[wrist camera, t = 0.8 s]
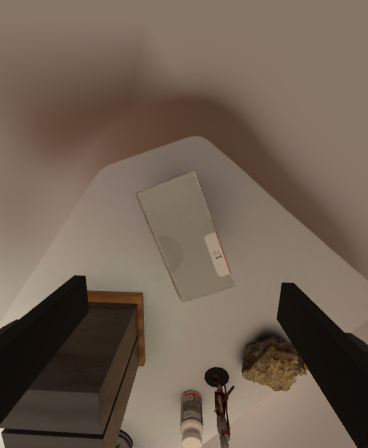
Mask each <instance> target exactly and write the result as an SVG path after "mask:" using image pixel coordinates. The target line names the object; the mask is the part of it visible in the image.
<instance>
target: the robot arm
mask: <svg viewBox="0 0 368 448" xmlns="http://www.w3.org/2000/svg"><path fill="white" fill-rule="evenodd" d="M88 312H89V305H88V295H87V285H86V276H77V275H74V276H73V277H72V278H71V279H69V280H68V281H67V282H66V283H64V284H63V285H62V286H61V287H59V288H58V289H57V290H56V291H54V292H53V293H52V294H51V295H49V296H48V297H47V298H46V299H44V300H43V301H42V302H41V303H39V304H38V305H37V306H36V307H34V308H33V309H32V310H31V311H29V312H28V313H27V314H26V315H24V316H23V317H22V318H21V319H19V320H15V321H13V322H11V323H9V324H7V325H6V326H4V327H2V328H1V329H0V424H1V423H2V422H3V420H4V419H5V418H6V417H7V415H8V414H9V413H10V412H11V410H12V409H13V408H14V406H15V405H16V404H17V403H18V401H19V400H20V399H21V398H22V396H23V395H24V394H25V392H26V391H27V390H28V389H29V387H30V386H31V385H32V384H33V382H34V381H35V380H36V378H37V377H38V376H39V375H40V373H41V372H42V371H43V370H44V368H45V367H46V366H47V364H48V363H49V362H50V361H51V359H52V358H53V357H54V356H55V354H56V353H57V352H58V350H59V349H60V348H61V347H62V345H63V344H64V343H65V342H66V340H67V339H68V338H69V336H70V335H71V334H72V333H73V331H74V330H75V329H76V328H77V326H78V325H79V324H80V322H81V321H82V320H83V319H84V317H85V316H86V315H87V314H88ZM277 320H278V322H279V323H280V325H281V327H282V328H283V330H284V331H285V333H286V335H287V336H288V338H289V339H290V341H291V342H292V344H293V346H294V347H295V349H296V350H297V352H298V354H299V355H300V357H301V358H302V360H303V362H304V363H305V365H306V366H307V368H308V370H309V371H310V373H311V374H312V376H313V378H314V379H315V381H316V382H317V384H318V386H319V387H320V389H321V390H322V392H323V394H324V395H325V397H326V398H327V400H328V402H329V403H330V405H331V406H332V408H333V410H334V411H335V413H336V414H337V416H338V418H339V419H340V421H341V422H342V424H343V425H344V427H345V429H346V430H347V432H348V433H349V435H350V437H351V438H352V440H353V441H354V443H355V445H356V446H357V448H368V345H367V344H366V343H365V342H364V341H362V340H360V339H359V338H357V337H356V336H354V335H353V334H351V333H344V332H343V331H342V330H341V329H340V328H339V327H338V326H337V325H336V324H335V323H334V322H333V321H332V320H331V319H330V318H329V317H328V316H327V315H326V314H325V313H324V312H323V311H322V310H321V309H320V308H319V307H318V306H317V305H316V304H315V303H314V302H313V301H312V300H311V299H310V298H309V297H308V296H307V295H306V294H305V293H304V292H303V291H302V290H301V289H299V288H298V287H297V286H296V285H295V284H294V283H282V286H281V293H280V300H279V307H278V314H277Z"/></svg>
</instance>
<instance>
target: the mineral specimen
mask: <svg viewBox="0 0 368 448" xmlns="http://www.w3.org/2000/svg"><path fill="white" fill-rule="evenodd" d="M244 353H245V355H244V356H245V357H244V358H243V363H242V370H241V371H242V376H243V377H244V378H245V379H247V380H252V381H253V382H254V383H255V382H257V383H259V384H261V385H268V386H269V387H271V388H272V389H273V390H274V391H280V390H282V391H288V390H289V389H290V386H291V385H292V384H293V383H295V382H296V379H295V377H296V376H298V374H300V375H303V373H304V374H305V375H306V370H308V368H307V366H306V365H305V363H304V362H303V360H302V358H301V357H300V355H299V354H298V352H297V350H296V349H295V347H293V346H291V345H290V343H289V342H288V341H286V340H285V339H278V338H277V337H274V336H273V337H269V338H267V339H265V340H263V341H261V340H257V342H256V343H255V344H252V345H248V346H247V349H245V351H244ZM295 373H296V374H295Z"/></svg>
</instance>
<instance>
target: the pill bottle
mask: <svg viewBox="0 0 368 448" xmlns="http://www.w3.org/2000/svg"><path fill="white" fill-rule="evenodd" d="M180 429H181V433H182V435H183V436H182V446H183V448H201V446H202V438H201V435H202V432H203V418H202V400H201V396H200V395H199V394H198V393H197V392H194V391H188V392H186V393H184V394H183V396H182V400H181V424H180Z"/></svg>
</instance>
